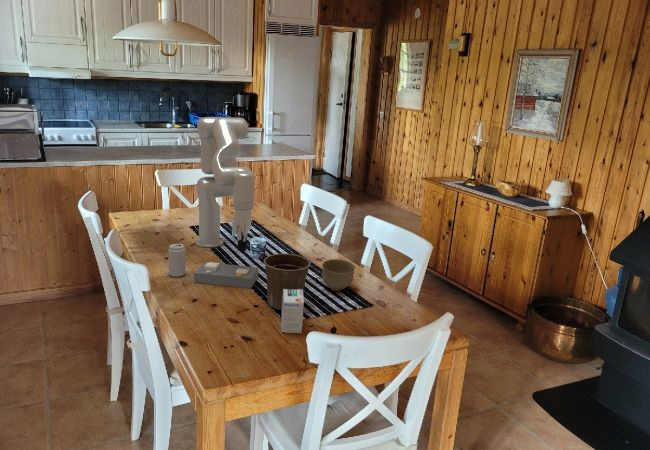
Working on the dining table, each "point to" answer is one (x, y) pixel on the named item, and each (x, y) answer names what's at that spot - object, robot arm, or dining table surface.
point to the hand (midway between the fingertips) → (242, 250)
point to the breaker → (212, 266)
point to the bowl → (337, 273)
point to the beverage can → (177, 260)
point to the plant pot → (284, 276)
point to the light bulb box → (292, 311)
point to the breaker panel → (226, 276)
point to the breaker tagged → (242, 271)
